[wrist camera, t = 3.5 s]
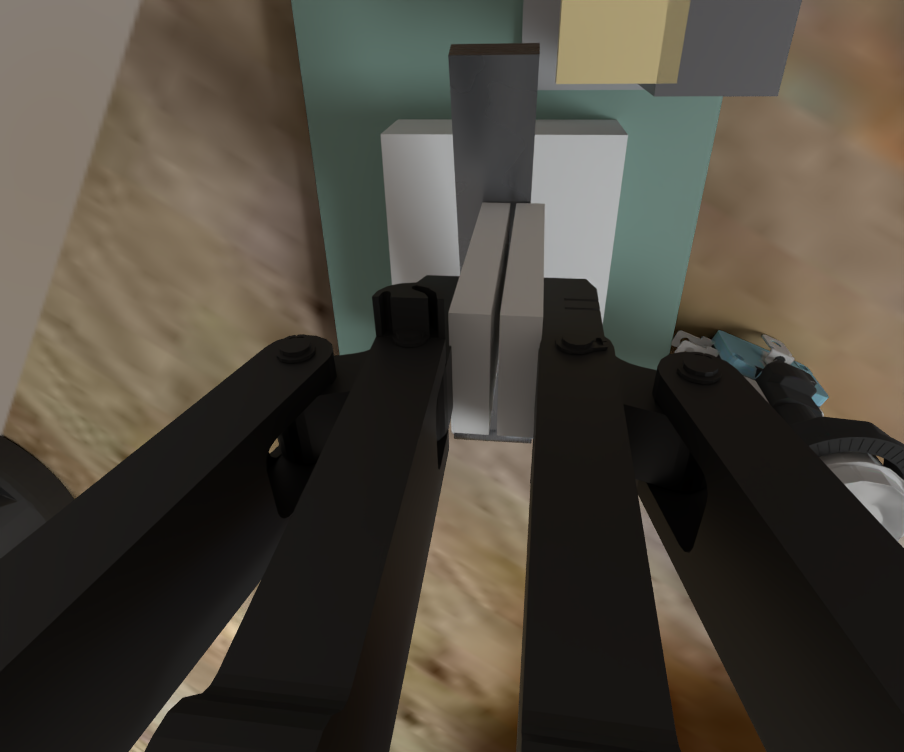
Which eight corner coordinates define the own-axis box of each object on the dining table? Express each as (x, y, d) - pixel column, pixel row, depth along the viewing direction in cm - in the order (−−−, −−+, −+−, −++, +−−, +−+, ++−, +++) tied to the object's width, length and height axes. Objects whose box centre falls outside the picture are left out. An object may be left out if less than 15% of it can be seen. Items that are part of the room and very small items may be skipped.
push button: (641, 374, 28) (688, 533, 20) (707, 279, 25) (796, 416, 17) (763, 424, 29) (858, 598, 20) (841, 337, 26) (990, 497, 17)
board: (353, 395, 31) (330, 446, 27) (297, -40, 21) (249, -49, 17) (650, 411, 29) (666, 467, 25) (743, -53, 19) (790, -66, 16)
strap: (456, 424, 25) (454, 443, 25) (425, 40, 14) (420, 59, 13) (531, 428, 25) (530, 448, 25) (566, 38, 13) (567, 58, 13)
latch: (549, 74, 20) (555, 96, 15) (556, -32, 19) (565, -45, 14) (714, 72, 20) (777, 96, 15) (736, -36, 18) (814, -52, 13)
